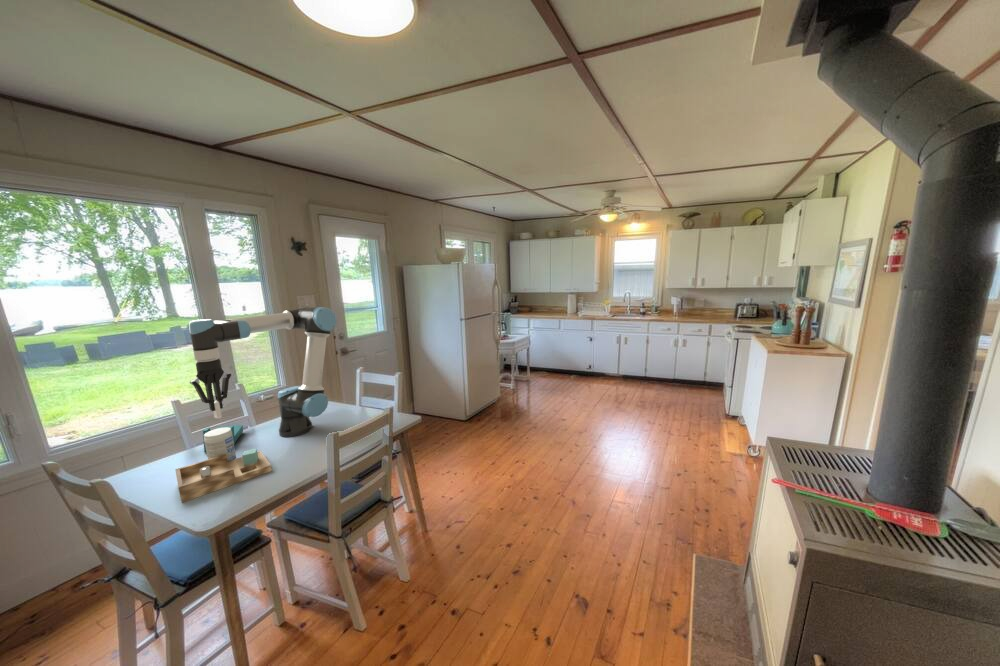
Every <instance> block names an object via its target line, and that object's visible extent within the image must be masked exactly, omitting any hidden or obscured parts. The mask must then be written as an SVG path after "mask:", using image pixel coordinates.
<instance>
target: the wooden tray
mask: <svg viewBox="0 0 1000 666" xmlns="http://www.w3.org/2000/svg"><path fill="white" fill-rule="evenodd" d="M257 453H258V461H257V463H254V464H249V465H245V466H244V463H243V458H242V456H241V457H238V458H237V457H236V459H234V460H231V461H228V460H227V455H226V454H224V455H221V456H217V457H214V458H211V459H208V458H207V459H205V460H202V461H197V462H195V463H191V464H188V465H185V466H182V467H181V466H180V467H178V468H175V475H176V482H177V487H178V492H179V497H180V502H181V503H185V502H188V501H190V500H193V499H196V498H199V497H202V496H204V495H208V494H210V493H214V492H216V491H218V490H222V489H225V488H226V487H230V486H232V485H233V486H234V485H236V484H239V483H241V482H244V481H246V480H250V479H252V478H255V477H258V476H260V475H264V474H267V473H269V472H271V471H272V465H271V463H270V462H269V460H268V459H267V458H266V456H265V455H264V453H263V452H262V451H261V450H259V451H257ZM206 466H210V470H211V476H208V477H205V478H201V474H200V469H201V468H203V467H206ZM181 503H180V504H181Z"/></svg>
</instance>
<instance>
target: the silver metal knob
mask: <svg viewBox="0 0 1000 666" xmlns="http://www.w3.org/2000/svg"><path fill="white" fill-rule="evenodd" d="M200 474H201V478H205V477H208V476H211V470H210V466H206V467H203V468H201V469H200Z"/></svg>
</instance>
